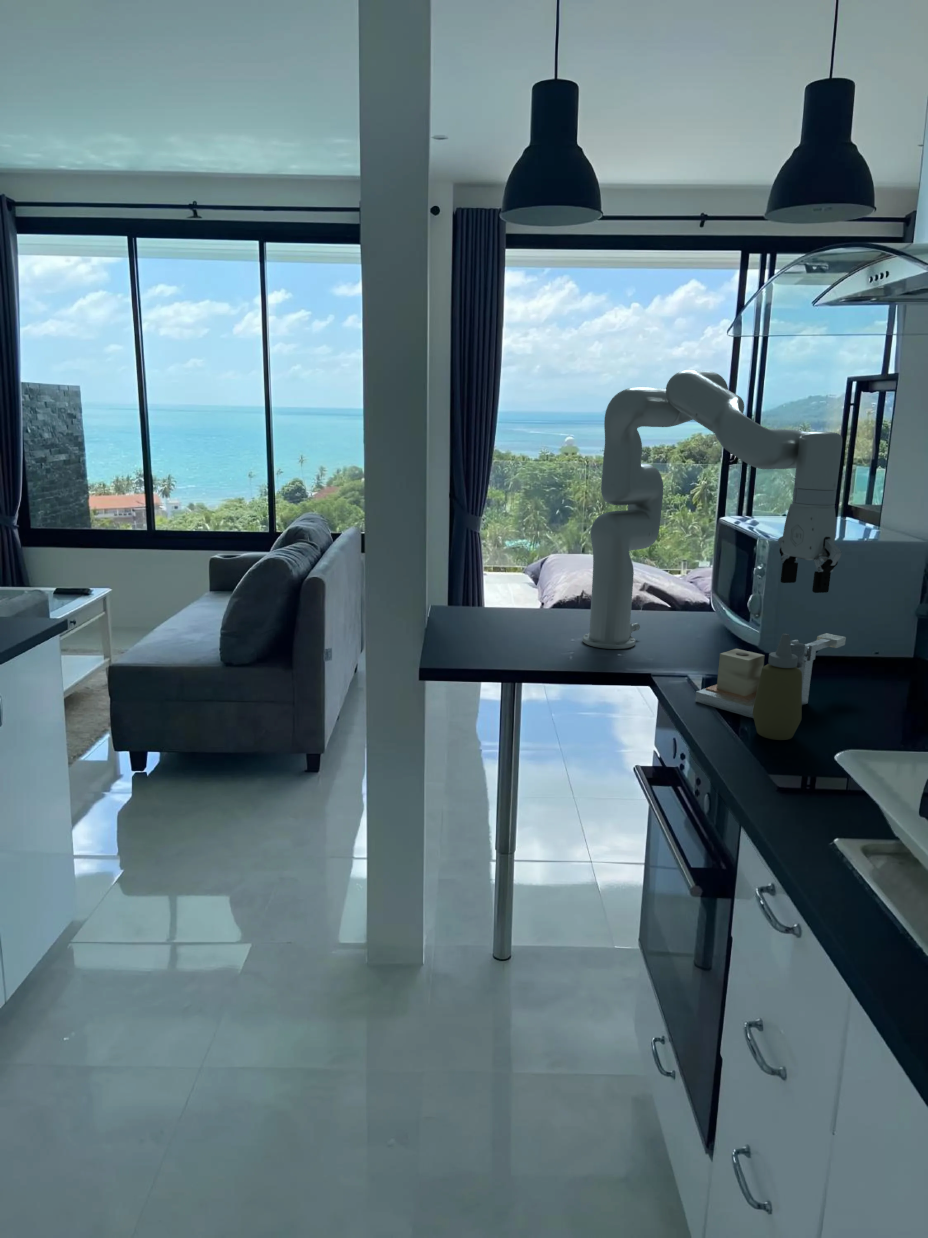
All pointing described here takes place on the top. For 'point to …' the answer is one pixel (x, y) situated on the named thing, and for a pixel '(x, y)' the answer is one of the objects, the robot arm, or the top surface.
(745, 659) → the maple block
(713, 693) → the press
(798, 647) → the press lever
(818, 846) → the top surface
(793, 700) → the squeeze bottle
